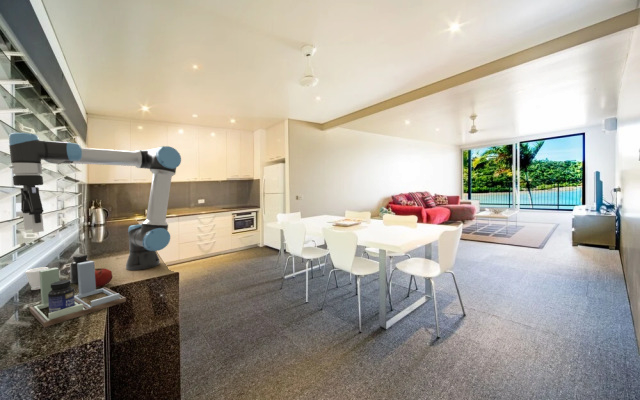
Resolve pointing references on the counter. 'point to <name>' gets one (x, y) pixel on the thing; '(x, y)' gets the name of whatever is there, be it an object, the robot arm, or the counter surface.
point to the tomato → (102, 276)
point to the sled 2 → (91, 285)
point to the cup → (34, 277)
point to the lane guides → (79, 313)
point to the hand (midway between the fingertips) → (34, 230)
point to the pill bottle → (61, 296)
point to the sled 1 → (45, 285)
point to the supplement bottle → (74, 266)
